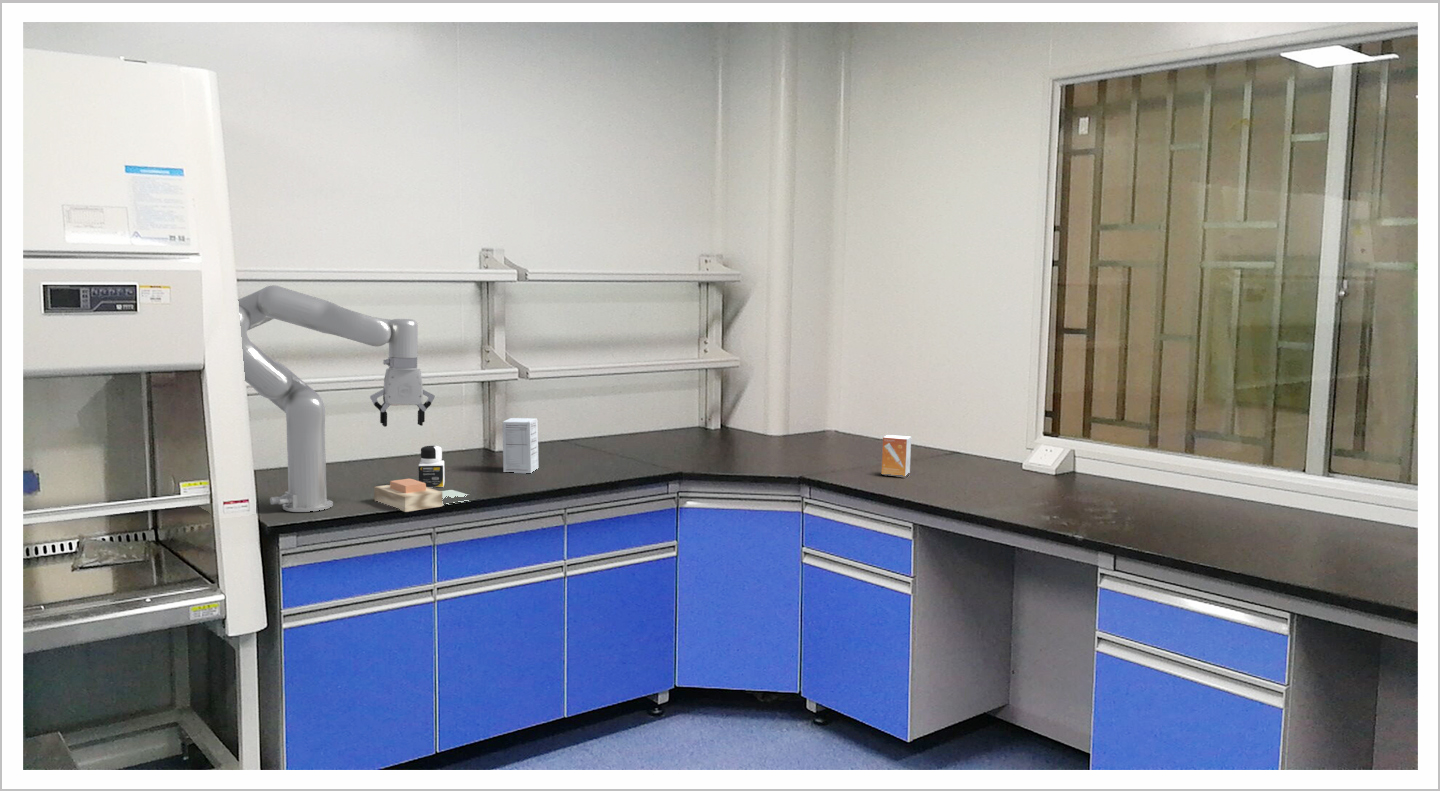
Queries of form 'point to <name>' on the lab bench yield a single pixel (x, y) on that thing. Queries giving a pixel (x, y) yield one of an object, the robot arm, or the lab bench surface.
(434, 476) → the medicine bottle
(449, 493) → the mat
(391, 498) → the beige wooden block
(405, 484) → the salmon orange block
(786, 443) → the lab bench surface
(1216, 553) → the lab bench surface
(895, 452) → the small box
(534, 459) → the supplement box
